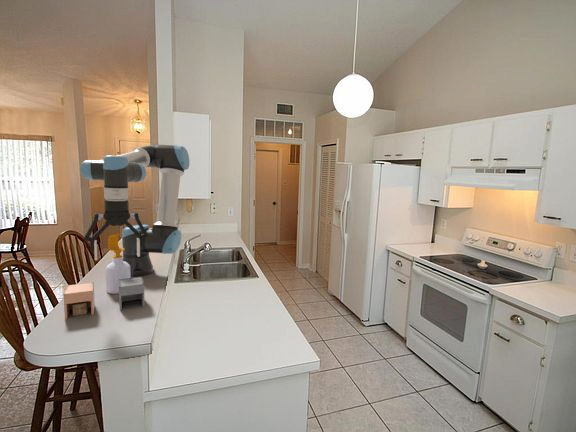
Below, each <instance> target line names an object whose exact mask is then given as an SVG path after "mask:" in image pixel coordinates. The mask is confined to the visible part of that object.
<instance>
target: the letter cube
mask: <svg viewBox="0 0 576 432" xmlns="http://www.w3.org/2000/svg"><path fill="white" fill-rule="evenodd" d="M88 309H89V307H88V304H87V301H85V302H78V303H73V309H72V316H80V315H85V314H88V311H89V310H88Z"/></svg>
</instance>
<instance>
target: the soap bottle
mask: <svg viewBox="0 0 576 432" xmlns="http://www.w3.org/2000/svg"><path fill="white" fill-rule="evenodd" d="M122 234H124V233H122V232H121V233H115V234H112V235H109V236H108V238H107V241H108V242H107V243H108V245H107V246H108V249H109V251H112V252H113V253H114V254H115V255H113V260H112V262H110V263H109V264H108V265H106V268H105V288H106V289H105V291H106V293H108V294H110V295H111V294H112V295H116V294H118V295H119V279H127V278H132V277H131V274H130V265H129V264H128V263H127V262H125V261H123V254H121V253H123V250H125V249H124V248H123V247H119V236H122Z"/></svg>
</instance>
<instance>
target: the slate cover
mask: <svg viewBox="0 0 576 432" xmlns="http://www.w3.org/2000/svg"><path fill="white" fill-rule="evenodd" d="M118 296H119V297H118V298H119V300H118V302H119V311H122V309H123V308H122V306H123V305H122V303H123V302H130V301H136V300H141V301H140V302H141V305H142V308H143V307H145V282H144V278H143V276H136V277H131V278H127V279H119V294H118Z"/></svg>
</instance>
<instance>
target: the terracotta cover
mask: <svg viewBox="0 0 576 432" xmlns="http://www.w3.org/2000/svg"><path fill="white" fill-rule="evenodd" d="M94 283H95V282H87V283H76V284H68V285H66V286H65V290H64V291H63V310H64V320H68V317H69V313H70V310H72V311H73V303H78V302H85V301H87V304H88V308H90V309H91V316H94V314H95V308H96V307H95V306H96V305H95V284H94Z"/></svg>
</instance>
